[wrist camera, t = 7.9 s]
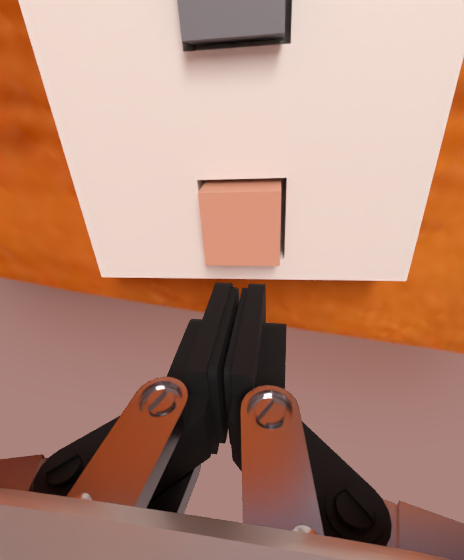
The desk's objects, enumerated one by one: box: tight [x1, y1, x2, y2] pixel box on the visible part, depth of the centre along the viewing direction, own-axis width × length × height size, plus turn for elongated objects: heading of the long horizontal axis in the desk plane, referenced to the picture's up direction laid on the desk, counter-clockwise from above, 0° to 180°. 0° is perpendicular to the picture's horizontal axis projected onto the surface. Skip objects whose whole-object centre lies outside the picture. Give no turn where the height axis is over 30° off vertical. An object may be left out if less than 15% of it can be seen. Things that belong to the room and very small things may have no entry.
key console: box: [18, 0, 464, 281], centre depth 19 cm, size 20×19×4 cm
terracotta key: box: [198, 178, 281, 266], centre depth 20 cm, size 4×4×3 cm
